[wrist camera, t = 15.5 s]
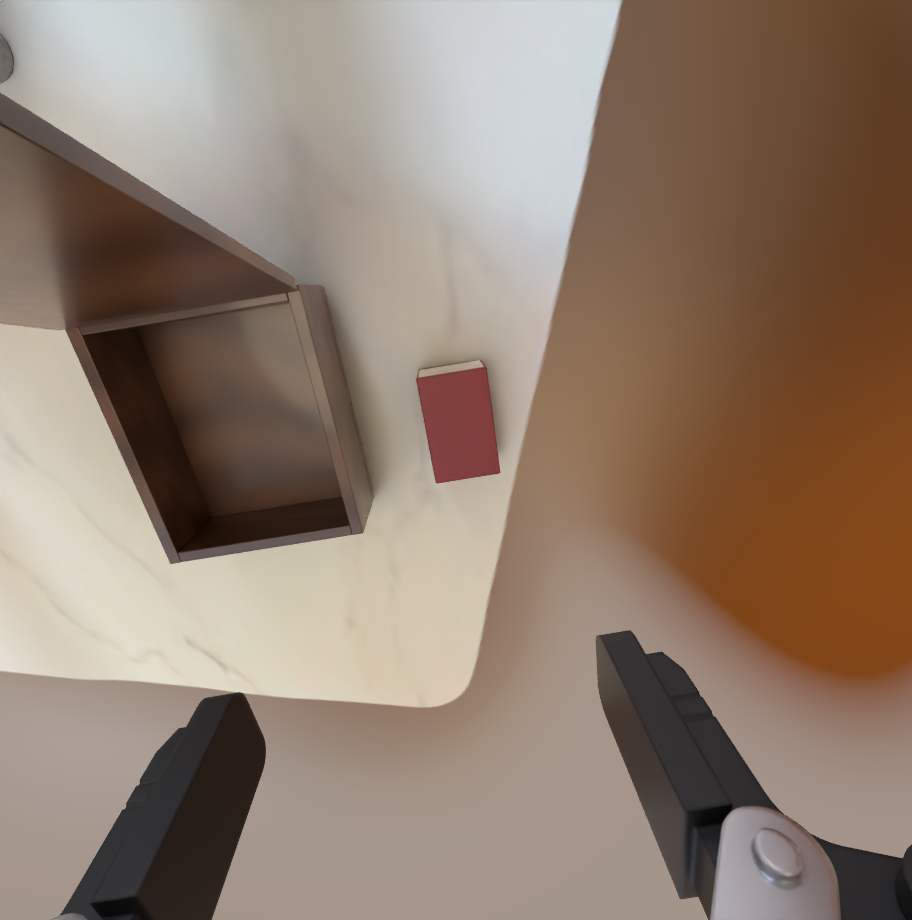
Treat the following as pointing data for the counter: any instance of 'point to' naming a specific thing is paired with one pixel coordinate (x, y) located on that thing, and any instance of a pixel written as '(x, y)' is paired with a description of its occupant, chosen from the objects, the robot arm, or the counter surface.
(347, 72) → the counter surface
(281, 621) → the counter surface
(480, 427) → the book
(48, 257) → the chest lid
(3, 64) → the hip flask
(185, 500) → the chest
